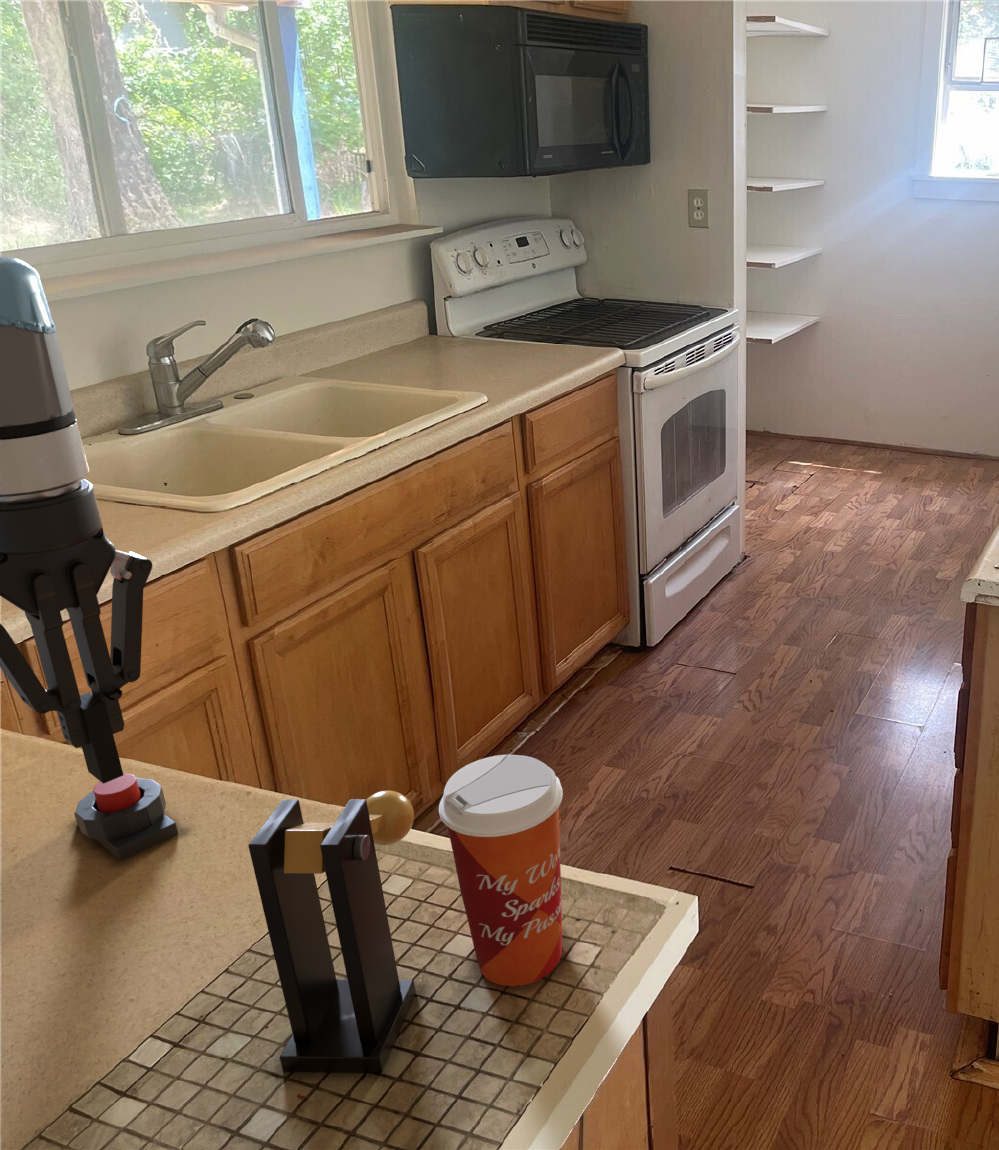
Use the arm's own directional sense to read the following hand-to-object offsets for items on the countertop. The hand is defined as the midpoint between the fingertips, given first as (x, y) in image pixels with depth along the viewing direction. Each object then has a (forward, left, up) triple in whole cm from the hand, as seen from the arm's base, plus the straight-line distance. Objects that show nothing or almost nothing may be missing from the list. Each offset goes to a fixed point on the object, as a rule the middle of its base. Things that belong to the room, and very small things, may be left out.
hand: (106, 773), depth 85 cm
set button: (0, 0, -3) cm, 3 cm away
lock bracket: (+33, +2, -6) cm, 34 cm away
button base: (0, 0, -6) cm, 6 cm away
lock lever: (+31, +5, +4) cm, 31 cm away
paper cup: (+36, +13, -6) cm, 39 cm away
